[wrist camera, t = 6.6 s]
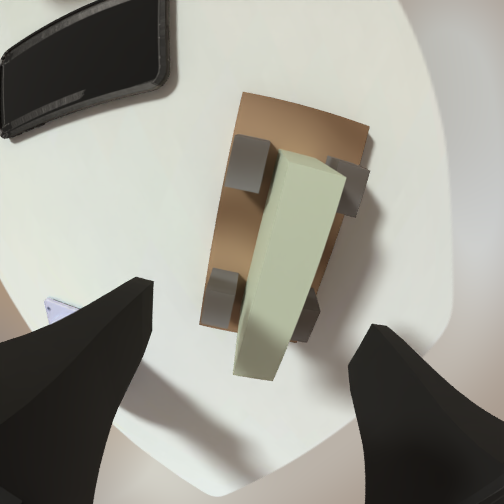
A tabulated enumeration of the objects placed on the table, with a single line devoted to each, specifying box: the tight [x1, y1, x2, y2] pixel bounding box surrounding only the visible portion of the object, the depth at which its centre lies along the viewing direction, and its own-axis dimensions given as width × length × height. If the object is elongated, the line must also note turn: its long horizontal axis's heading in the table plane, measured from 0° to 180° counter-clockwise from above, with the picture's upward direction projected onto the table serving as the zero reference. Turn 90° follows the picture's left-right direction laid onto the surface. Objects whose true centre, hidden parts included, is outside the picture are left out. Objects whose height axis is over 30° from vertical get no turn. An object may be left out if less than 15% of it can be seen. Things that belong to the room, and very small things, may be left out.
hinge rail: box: [199, 92, 370, 343], centre depth 16 cm, size 15×7×4 cm, turn 168°
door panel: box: [233, 149, 346, 381], centre depth 14 cm, size 10×2×6 cm, turn 168°
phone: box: [0, 0, 170, 139], centre depth 13 cm, size 8×1×15 cm
